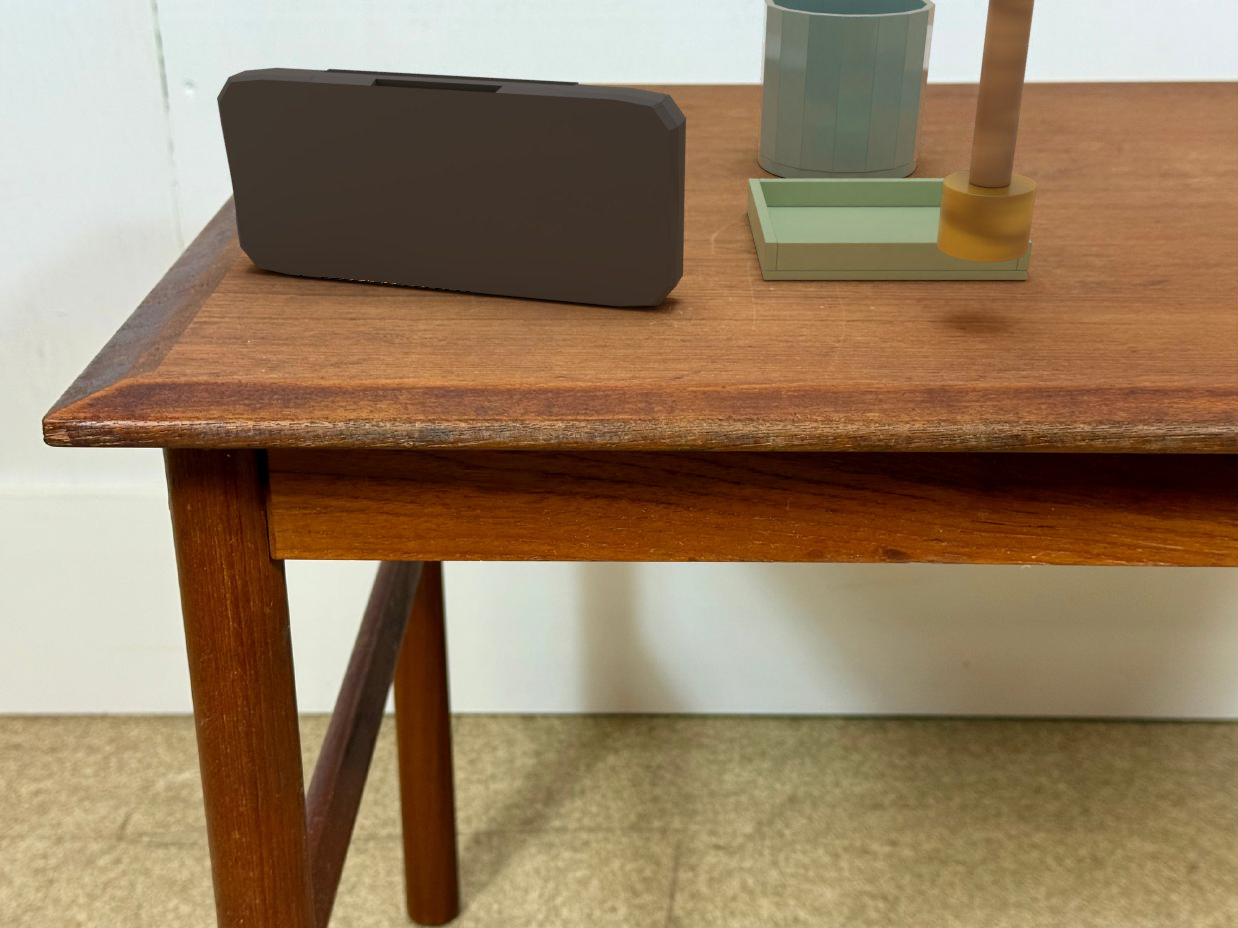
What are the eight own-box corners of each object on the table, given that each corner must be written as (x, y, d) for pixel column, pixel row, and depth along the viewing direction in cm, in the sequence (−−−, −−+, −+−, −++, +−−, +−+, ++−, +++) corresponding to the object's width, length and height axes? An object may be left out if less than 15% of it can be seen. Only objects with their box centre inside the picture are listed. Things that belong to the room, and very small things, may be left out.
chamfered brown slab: (686, 294, 62) (690, 86, 57) (673, 314, 60) (677, 99, 55) (265, 255, 68) (237, 62, 63) (239, 272, 65) (207, 73, 60)
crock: (900, 142, 87) (916, -12, 82) (930, 185, 78) (950, 15, 73) (752, 143, 87) (758, -11, 82) (764, 185, 78) (773, 16, 73)
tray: (975, 211, 73) (979, 178, 72) (1027, 280, 64) (1032, 242, 63) (746, 212, 74) (748, 178, 73) (763, 280, 64) (765, 242, 63)
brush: (1014, 232, 59) (1072, -204, 50) (1038, 262, 56) (1105, -201, 47) (928, 233, 59) (971, -201, 50) (946, 263, 56) (996, -198, 47)
